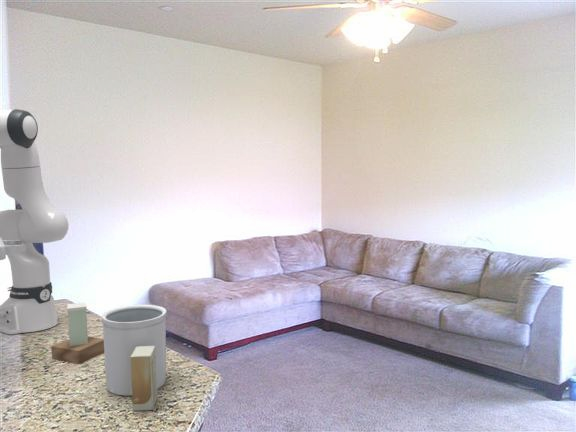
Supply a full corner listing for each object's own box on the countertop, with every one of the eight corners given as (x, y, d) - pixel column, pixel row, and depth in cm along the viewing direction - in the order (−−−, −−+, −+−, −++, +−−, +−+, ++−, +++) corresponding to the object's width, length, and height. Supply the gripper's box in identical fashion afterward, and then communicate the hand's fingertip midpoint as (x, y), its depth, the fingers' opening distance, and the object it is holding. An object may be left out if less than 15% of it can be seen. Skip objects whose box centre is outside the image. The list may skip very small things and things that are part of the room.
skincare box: (138, 398, 113) (136, 345, 112) (158, 397, 114) (155, 344, 112) (132, 412, 107) (129, 356, 106) (152, 411, 107) (150, 355, 106)
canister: (69, 346, 137) (67, 308, 136) (69, 341, 142) (67, 304, 140) (88, 343, 139) (86, 306, 138) (87, 338, 144) (85, 302, 142)
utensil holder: (180, 375, 126) (178, 306, 124) (145, 401, 112) (142, 324, 110) (130, 368, 130) (127, 302, 129) (91, 392, 116) (87, 318, 115)
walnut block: (52, 360, 138) (51, 346, 138) (80, 348, 147) (79, 335, 147) (79, 365, 134) (78, 351, 134) (106, 352, 143) (106, 339, 143)
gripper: (-42, 243, 115) (26, 237, 122) (-40, 234, 132) (20, 230, 139) (-40, 270, 115) (28, 263, 123) (-38, 257, 133) (21, 252, 140)
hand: (23, 245), depth 131 cm, fingers open, 8 cm apart
